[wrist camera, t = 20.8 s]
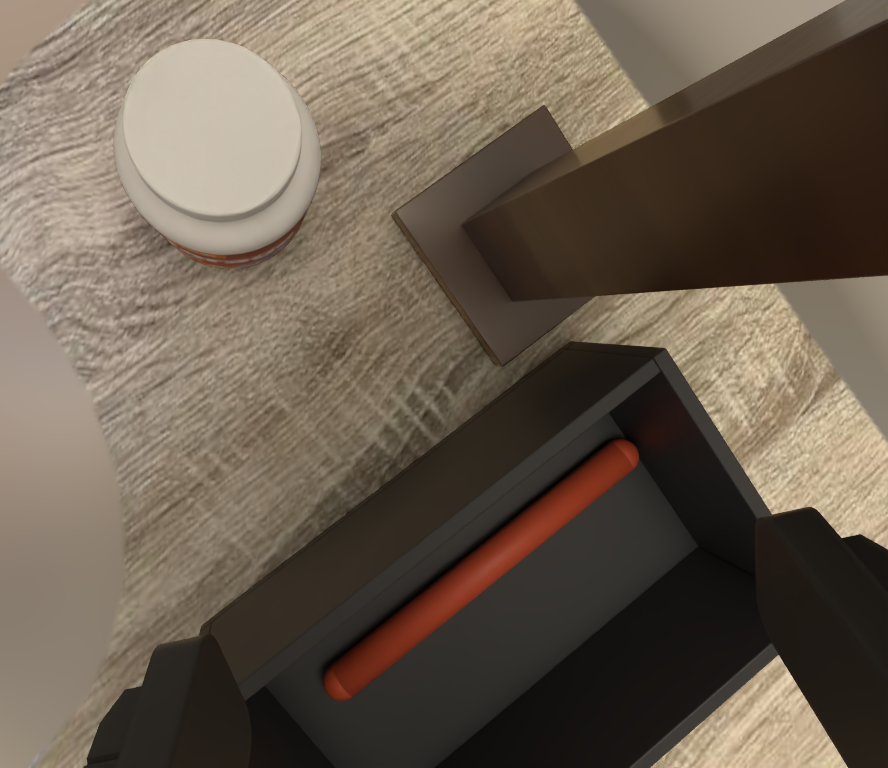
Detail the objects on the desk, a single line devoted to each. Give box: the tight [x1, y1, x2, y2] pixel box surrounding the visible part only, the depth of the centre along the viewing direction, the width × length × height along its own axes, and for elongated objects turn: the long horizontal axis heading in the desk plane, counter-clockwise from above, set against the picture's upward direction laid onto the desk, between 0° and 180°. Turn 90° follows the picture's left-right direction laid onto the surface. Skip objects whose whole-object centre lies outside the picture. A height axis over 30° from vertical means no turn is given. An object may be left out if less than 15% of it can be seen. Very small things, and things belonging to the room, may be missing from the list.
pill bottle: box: [114, 39, 321, 269], centre depth 26 cm, size 6×6×11 cm
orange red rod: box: [323, 439, 639, 701], centre depth 34 cm, size 17×2×2 cm, turn 126°
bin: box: [199, 341, 779, 768], centre depth 31 cm, size 20×12×9 cm, turn 126°
